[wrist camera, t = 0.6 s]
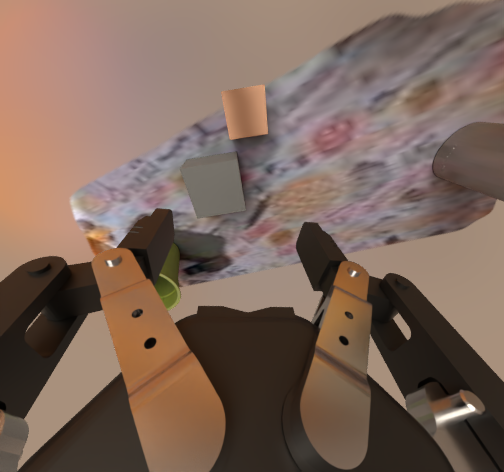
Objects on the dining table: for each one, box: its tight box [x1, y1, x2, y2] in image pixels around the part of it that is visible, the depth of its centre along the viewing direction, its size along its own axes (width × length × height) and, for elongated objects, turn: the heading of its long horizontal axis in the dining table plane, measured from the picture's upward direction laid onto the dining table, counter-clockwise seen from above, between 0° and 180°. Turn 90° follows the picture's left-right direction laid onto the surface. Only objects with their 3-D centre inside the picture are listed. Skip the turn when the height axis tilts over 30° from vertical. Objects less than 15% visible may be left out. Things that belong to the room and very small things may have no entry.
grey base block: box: [180, 152, 246, 218], centre depth 30 cm, size 8×8×5 cm
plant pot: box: [153, 243, 181, 311], centre depth 35 cm, size 12×12×11 cm
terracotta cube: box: [221, 85, 268, 140], centre depth 25 cm, size 5×5×5 cm
